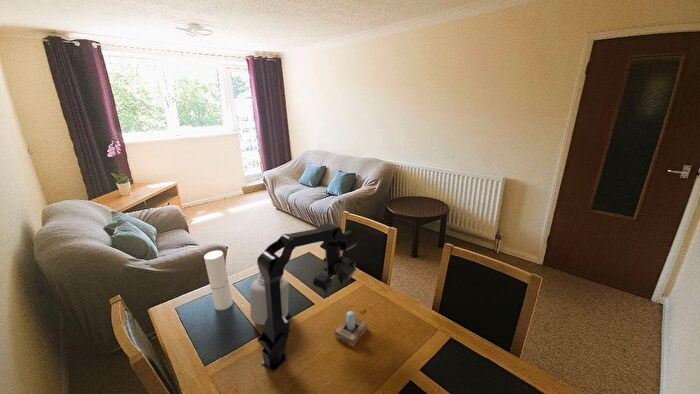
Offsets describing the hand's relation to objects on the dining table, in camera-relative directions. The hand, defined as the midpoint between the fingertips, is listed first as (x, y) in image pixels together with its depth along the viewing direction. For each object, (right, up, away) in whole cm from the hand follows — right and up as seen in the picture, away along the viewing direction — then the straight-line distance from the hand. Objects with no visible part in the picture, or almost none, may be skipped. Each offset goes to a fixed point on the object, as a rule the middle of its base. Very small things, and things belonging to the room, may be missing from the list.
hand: (335, 290), depth 112 cm
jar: (-26, -13, +6) cm, 30 cm away
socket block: (+7, -15, -4) cm, 17 cm away
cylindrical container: (-50, -11, +13) cm, 53 cm away
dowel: (+6, -15, -4) cm, 17 cm away
